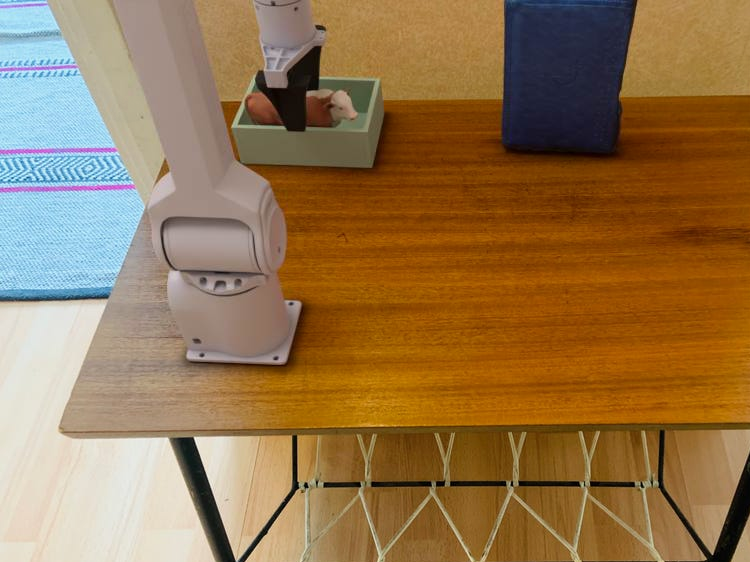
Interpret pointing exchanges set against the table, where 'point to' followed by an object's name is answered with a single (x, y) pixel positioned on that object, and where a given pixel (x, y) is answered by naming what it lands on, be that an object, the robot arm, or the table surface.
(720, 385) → the table surface
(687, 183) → the table surface
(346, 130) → the bin
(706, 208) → the table surface
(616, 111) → the book
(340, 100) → the bull figurine
